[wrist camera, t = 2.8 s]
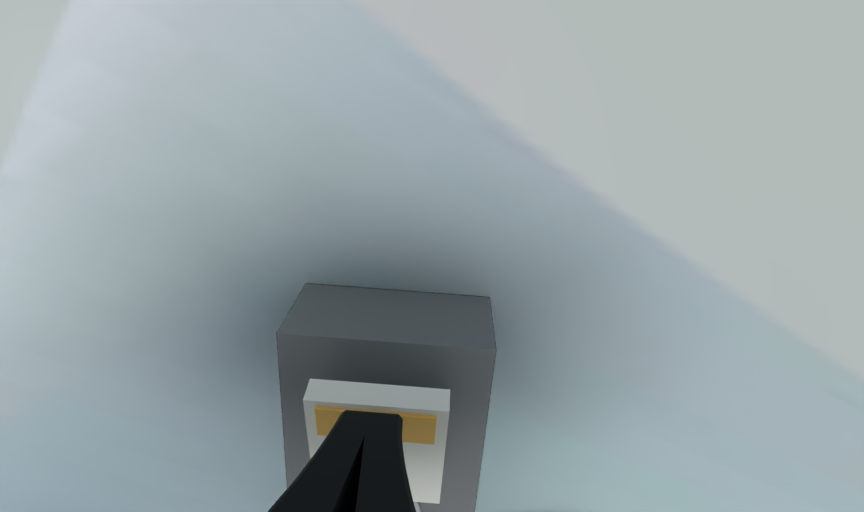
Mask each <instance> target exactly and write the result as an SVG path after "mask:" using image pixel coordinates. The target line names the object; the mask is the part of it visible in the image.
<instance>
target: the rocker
mask: <svg viewBox="0 0 864 512" xmlns="http://www.w3.org/2000/svg"><path fill="white" fill-rule="evenodd" d="M303 406H304V413H305V421H306V429H307V437H308V445H309V453H310V459H311V458H312V457H313V455H314V454H315V453H316V451H317V450H318V448H319V447H320V445H321V444H322V443H323V441H324V440H325V438H326V437H327V435H328V434H329V432H330V431H331V429H332V428H333V426H334V424H335V423H336V421H337V419H338V418H339V416H340V414H341V413H342V412H344V411H345V410H353V411H365V412H378V413H390V414H399V415H400V416H401V417H402V418H403V428H402V443H403V452H404V460H405V466H406V471H407V476H408V480H409V485H410V490H411V494H412V498H413V502H423V503H436V504H439V503H440V494H441V485H442V476H443V466H444V457H445V448H446V439H447V430H448V421H449V412H450V389H438V388H425V387H413V386H400V385H387V384H374V383H361V382H348V381H335V380H323V379H310V380H309V383H308V386H307V389H306V392H305V395H304V398H303Z"/></svg>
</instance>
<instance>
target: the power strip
mask: <svg viewBox="0 0 864 512" xmlns="http://www.w3.org/2000/svg"><path fill="white" fill-rule="evenodd" d="M276 335H277V349H278V364H279V378H280V392H281V407H282V421H283V436H284V450H285V464H286V479H287V489H288V487H289V486H290V485H291V484H292V483H293V481H294V480H295V479H296V478H297V476H298V475H299V474H300V472H301V471H302V470H303V468H304V467H305V466H306V465H307V463H308V462H309V461H310V453H309V445H308V437H307V429H306V421H305V413H304V406H303V398H304V395H305V392H306V389H307V386H308V383H309V380H310V379H323V380H335V381H348V382H361V383H374V384H387V385H400V386H413V387H425V388H438V389H450V412H449V421H448V430H447V439H446V448H445V457H444V466H443V476H442V485H441V494H440V503H439V504H436V503H423V502H414V506H415V509H416V512H475V506H476V499H477V491H478V484H479V476H480V469H481V461H482V454H483V446H484V439H485V431H486V424H487V416H488V409H489V401H490V394H491V387H492V379H493V372H494V364H495V357H496V343H495V335H494V327H493V319H492V311H491V303H490V297H478V296H464V295H451V294H438V293H425V292H411V291H398V290H385V289H371V288H358V287H345V286H332V285H318V284H305V285H304V287H303V289H302V291H301V292H300V294H299V296H298V297H297V299H296V301H295V302H294V304H293V306H292V308H291V309H290V311H289V313H288V314H287V316H286V318H285V319H284V321H283V323H282V325H281V326H280V328H279V330H278V331H277V333H276Z"/></svg>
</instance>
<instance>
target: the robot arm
mask: <svg viewBox="0 0 864 512" xmlns="http://www.w3.org/2000/svg"><path fill="white" fill-rule="evenodd" d="M402 428H403V418H402V417H401V416H400V415H399V414H390V413H378V412H365V411H353V410H345V411H344V412H342V413H341V414H340V416H339V418H338V419H337V421H336V423H335V424H334V426H333V428H332V429H331V431H330V432H329V434H328V435H327V437H326V438H325V440H324V441H323V443H322V444H321V445H320V447H319V448H318V450H317V451H316V453H315V454H314V455H313V457H312V458H311V459H310V461H309V462H308V463H307V465H306V466H305V467H304V468H303V470H302V471H301V472H300V474H299V475H298V476H297V478H296V479H295V480H294V481H293V483H292V484H291V485H290V486H289V487H288V489H287V490H286V491H285V492H284V493H283V494H282V496H281V497H280V498H279V499H278V500H277V501H276V503H275V504H274V505H273V506H272V507H271V508H270V510H269V511H268V512H416V509H415V506H414V502H413V498H412V494H411V490H410V485H409V480H408V476H407V471H406V466H405V460H404V452H403V443H402Z"/></svg>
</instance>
